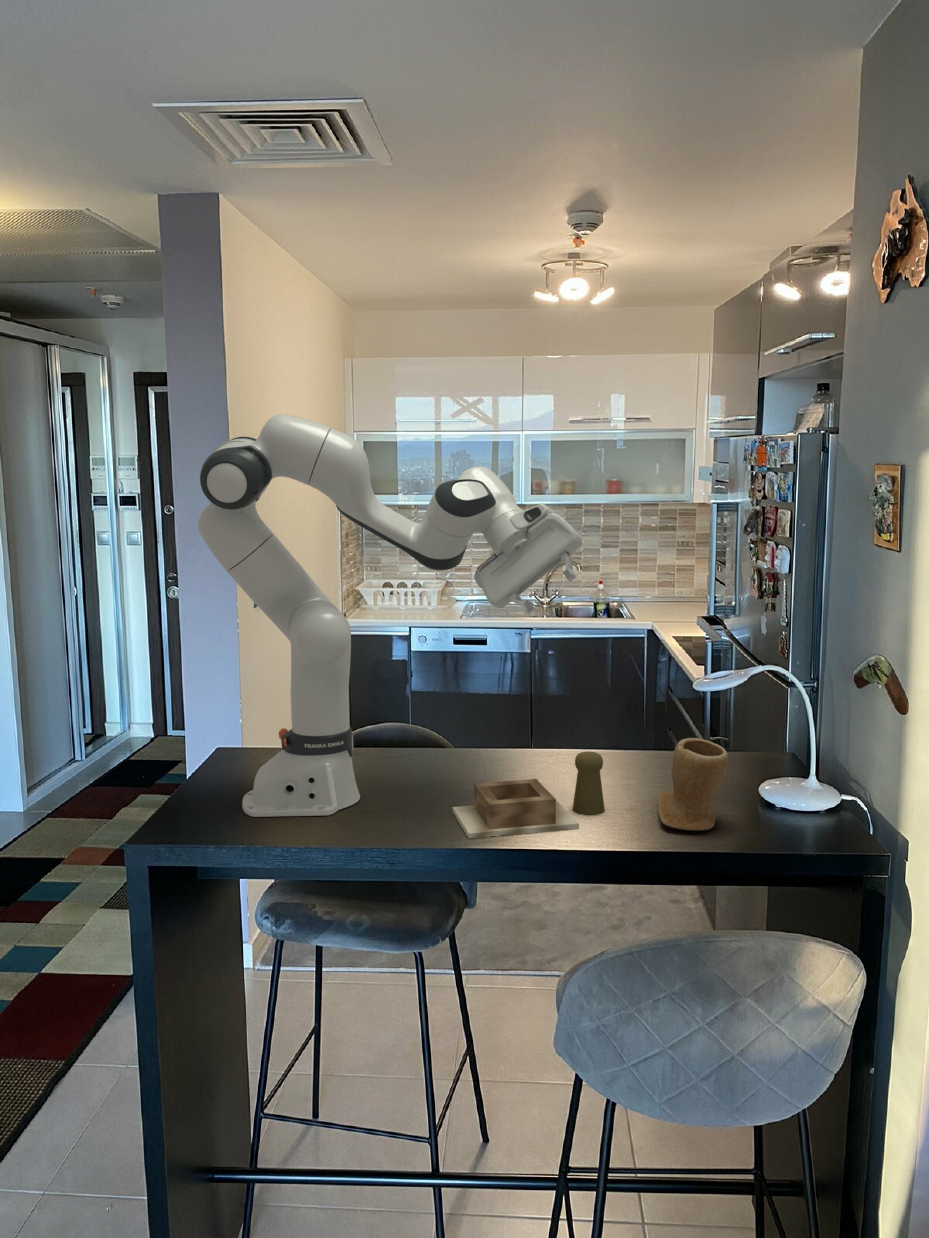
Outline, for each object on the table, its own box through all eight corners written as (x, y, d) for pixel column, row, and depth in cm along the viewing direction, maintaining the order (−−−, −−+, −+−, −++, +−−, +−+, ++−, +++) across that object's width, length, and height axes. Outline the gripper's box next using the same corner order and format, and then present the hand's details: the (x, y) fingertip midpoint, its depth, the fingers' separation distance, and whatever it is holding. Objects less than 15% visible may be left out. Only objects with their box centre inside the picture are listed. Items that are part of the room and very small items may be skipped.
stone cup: (728, 838, 166) (730, 753, 163) (657, 833, 168) (659, 750, 166) (722, 808, 180) (724, 730, 178) (657, 805, 183) (659, 728, 180)
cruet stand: (468, 838, 166) (468, 808, 166) (452, 812, 180) (452, 783, 179) (579, 828, 171) (579, 798, 170) (554, 803, 184) (554, 775, 183)
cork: (595, 802, 184) (595, 747, 183) (610, 812, 179) (611, 755, 177) (566, 806, 182) (567, 750, 181) (581, 817, 177) (581, 759, 175)
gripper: (462, 568, 177) (499, 626, 171) (549, 497, 172) (590, 554, 166) (477, 577, 182) (513, 633, 176) (562, 509, 177) (602, 564, 171)
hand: (551, 594), depth 171 cm, fingers open, 8 cm apart
